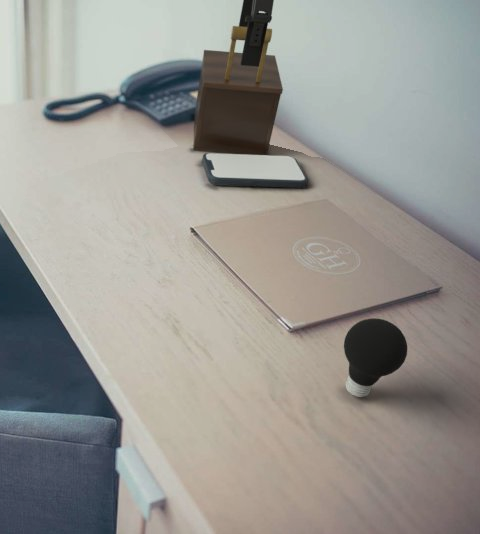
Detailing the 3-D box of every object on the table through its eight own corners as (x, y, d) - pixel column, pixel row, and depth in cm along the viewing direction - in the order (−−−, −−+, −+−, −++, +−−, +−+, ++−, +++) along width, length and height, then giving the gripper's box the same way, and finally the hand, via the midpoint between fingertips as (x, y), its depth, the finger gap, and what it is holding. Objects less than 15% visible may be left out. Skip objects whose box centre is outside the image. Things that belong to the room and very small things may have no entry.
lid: (281, 94, 103) (295, 35, 97) (202, 87, 105) (211, 29, 99) (274, 59, 115) (285, 6, 109) (203, 54, 117) (211, 0, 111)
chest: (266, 157, 111) (281, 92, 104) (193, 150, 112) (202, 85, 105) (260, 120, 123) (274, 60, 115) (194, 114, 124) (203, 54, 117)
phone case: (292, 163, 110) (200, 160, 110) (294, 155, 109) (201, 151, 109) (307, 190, 103) (209, 187, 103) (310, 182, 102) (210, 178, 102)
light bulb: (347, 420, 67) (377, 352, 60) (316, 379, 71) (341, 312, 65) (395, 408, 68) (429, 341, 62) (361, 368, 72) (390, 302, 66)
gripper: (245, -118, 99) (222, 22, 112) (254, -89, 80) (225, 77, 93) (295, -115, 98) (265, 26, 111) (316, -85, 79) (278, 81, 92)
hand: (247, 49), depth 102 cm, fingers open, 13 cm apart
